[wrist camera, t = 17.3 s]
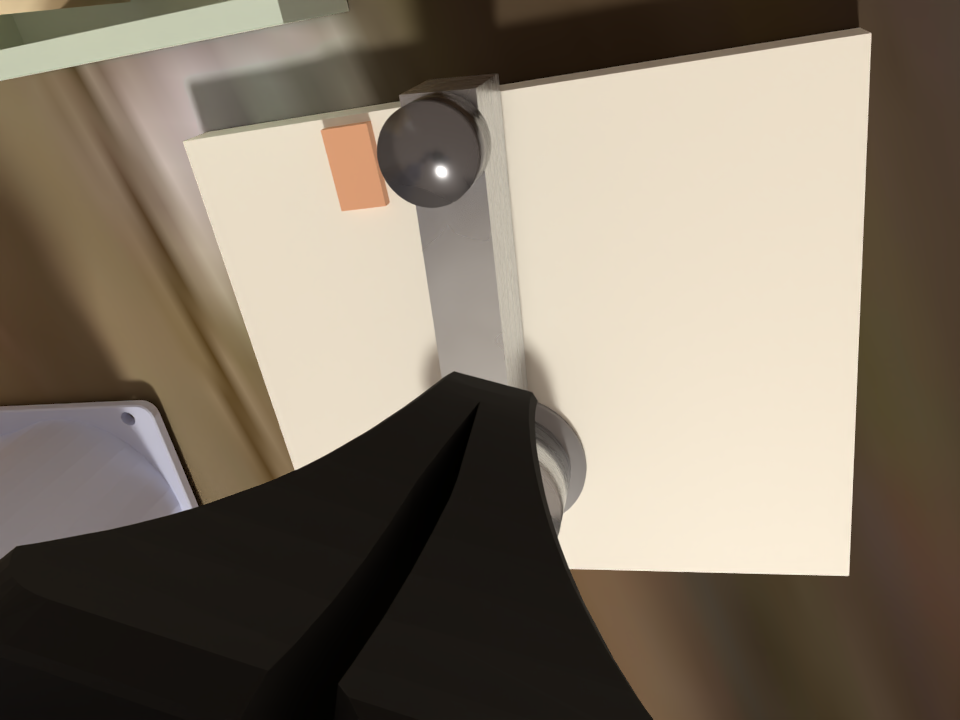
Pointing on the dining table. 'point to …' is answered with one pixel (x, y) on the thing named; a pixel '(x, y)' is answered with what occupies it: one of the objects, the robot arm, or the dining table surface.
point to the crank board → (601, 292)
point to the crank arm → (467, 237)
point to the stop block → (48, 5)
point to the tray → (136, 29)
